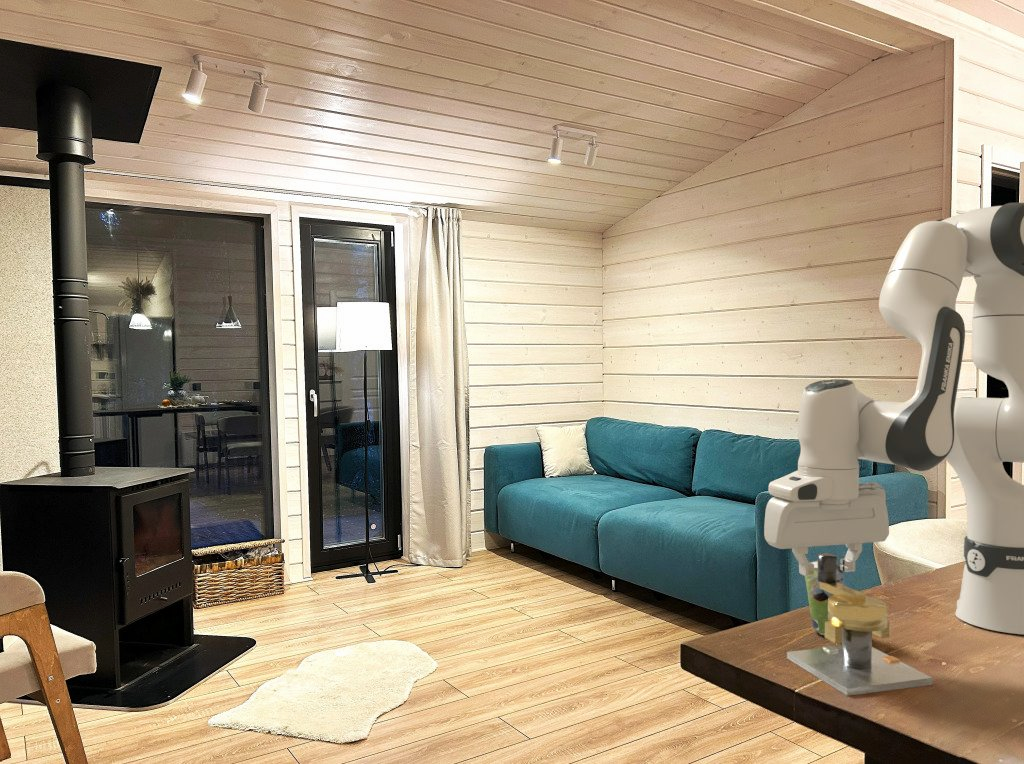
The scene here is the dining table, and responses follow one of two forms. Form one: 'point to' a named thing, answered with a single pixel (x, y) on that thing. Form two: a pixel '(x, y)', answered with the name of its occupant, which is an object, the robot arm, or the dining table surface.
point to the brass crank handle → (849, 605)
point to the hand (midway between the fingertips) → (827, 572)
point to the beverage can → (819, 598)
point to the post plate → (858, 677)
